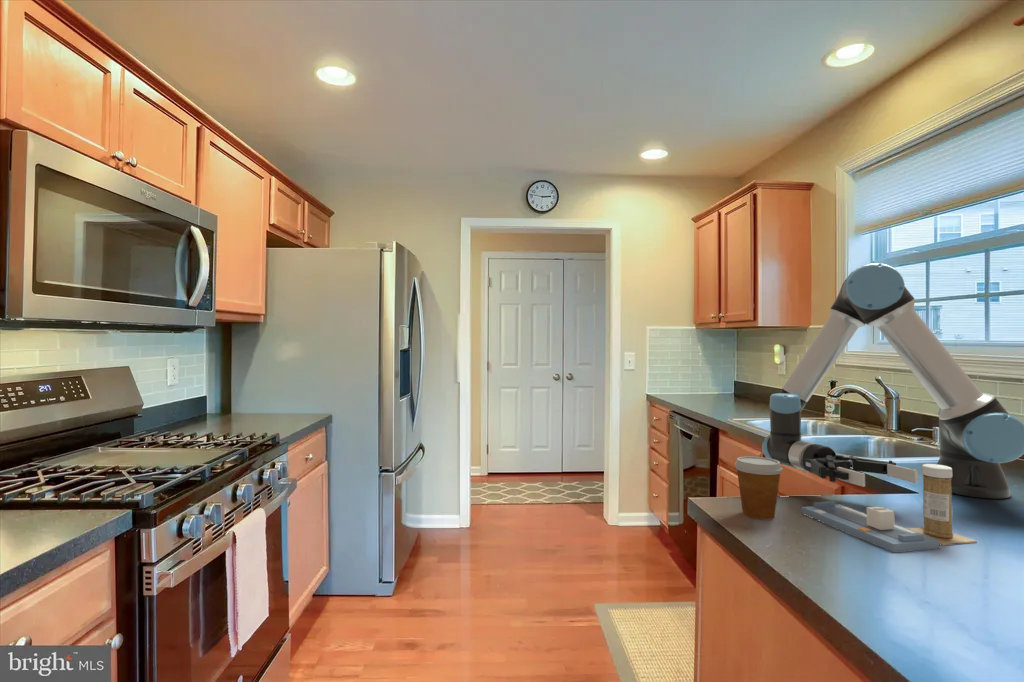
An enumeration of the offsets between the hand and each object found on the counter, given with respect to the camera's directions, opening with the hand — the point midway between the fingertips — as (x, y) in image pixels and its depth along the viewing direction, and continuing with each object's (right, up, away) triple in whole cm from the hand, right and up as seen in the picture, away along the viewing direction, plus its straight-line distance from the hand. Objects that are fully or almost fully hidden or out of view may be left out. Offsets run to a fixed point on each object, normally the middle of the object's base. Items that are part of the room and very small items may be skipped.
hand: (890, 478), depth 109 cm
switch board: (-10, -9, -6) cm, 15 cm away
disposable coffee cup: (-27, -9, +3) cm, 29 cm away
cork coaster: (+2, -9, -10) cm, 13 cm away
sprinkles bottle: (+2, -9, -10) cm, 13 cm away
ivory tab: (-9, -7, -10) cm, 15 cm away
